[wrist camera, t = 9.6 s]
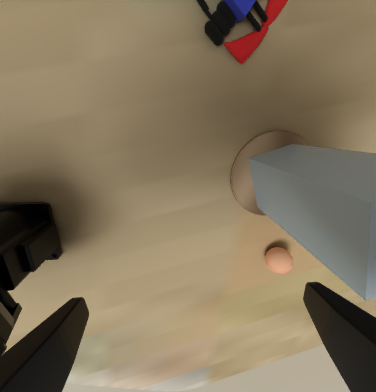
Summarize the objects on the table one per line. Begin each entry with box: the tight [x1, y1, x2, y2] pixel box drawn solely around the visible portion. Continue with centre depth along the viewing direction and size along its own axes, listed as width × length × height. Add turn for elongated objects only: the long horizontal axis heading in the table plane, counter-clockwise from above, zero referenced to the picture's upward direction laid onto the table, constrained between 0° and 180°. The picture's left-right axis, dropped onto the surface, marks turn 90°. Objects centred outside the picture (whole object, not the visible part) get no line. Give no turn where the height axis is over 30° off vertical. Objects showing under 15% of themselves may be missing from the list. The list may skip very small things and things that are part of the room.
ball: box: [265, 247, 293, 274], centre depth 22 cm, size 3×3×3 cm
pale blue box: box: [248, 144, 376, 301], centre depth 14 cm, size 5×6×12 cm
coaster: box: [230, 131, 309, 215], centre depth 20 cm, size 9×9×1 cm
